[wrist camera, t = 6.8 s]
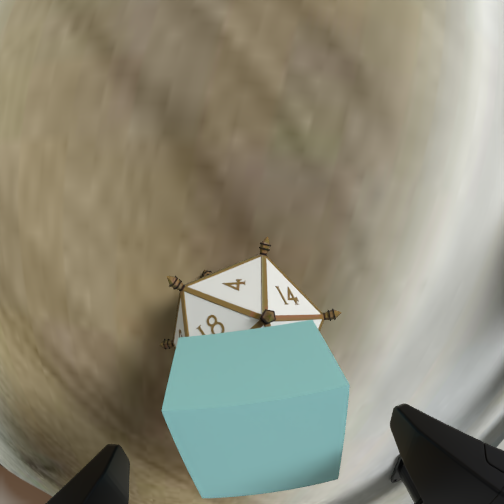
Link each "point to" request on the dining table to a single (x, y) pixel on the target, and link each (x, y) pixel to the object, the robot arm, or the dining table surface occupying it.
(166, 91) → the dining table surface
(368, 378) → the dining table surface
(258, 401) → the teal block
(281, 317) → the game die
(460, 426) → the dining table surface
